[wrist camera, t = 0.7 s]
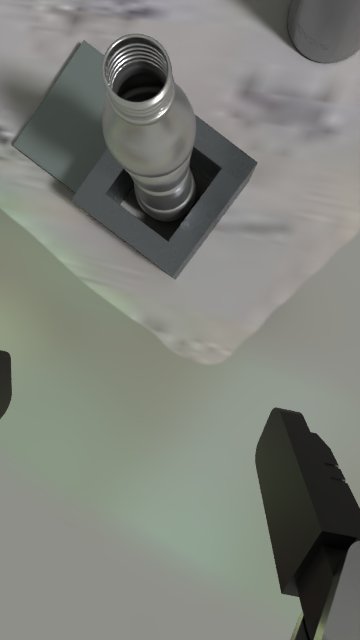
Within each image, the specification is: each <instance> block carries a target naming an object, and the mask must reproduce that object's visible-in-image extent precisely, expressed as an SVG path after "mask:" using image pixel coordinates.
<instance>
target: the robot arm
mask: <svg viewBox="0 0 360 640" xmlns="http://www.w3.org/2000/svg"><path fill="white" fill-rule="evenodd" d="M288 29H289V34H290V37H291V39H292V42H293V43H294V45H295V46H296V48H297V49H298V50H299V51H300V52H301V53H302V54H303V55H304V56H306V57H308V58H309V59H311V60H314V61H317V62H321V63H334V62H339V61H342V60H344V59H347V58H348V57H350V56H352V55H353V54H354V53H355V52H357V51H358V50H359V49H360V0H292V3H291V6H290V10H289V14H288ZM11 395H12V386H11V357H10V354H9V353H8V352H5V351H1V350H0V419H1V417H2V416H3V415H4V414H5V412H6V410H7V408H8V406H9V404H10V401H11ZM255 462H256V469H257V474H258V478H259V484H260V489H261V494H262V499H263V504H264V509H265V514H266V519H267V524H268V529H269V533H270V539H271V543H272V548H273V554H274V559H275V564H276V569H277V574H278V578H279V584H280V589H281V593H282V594H287V595H292V596H297V597H299V598H300V602H301V606H302V610H303V612H302V613H301V615H300V617H299V618H298V621H297V623H296V626H295V629H294V631H293V634H292V637H291V639H290V640H360V508H359V506H358V504H357V502H356V500H355V498H354V496H353V494H352V492H351V490H350V488H349V486H348V484H347V483H345V478H344V476H343V474H342V472H341V470H340V469H338V464H337V461H336V459H335V457H334V455H333V453H332V451H331V449H330V448H329V447H328V446H327V445H326V444H325V442H324V441H323V440H322V439H321V438H320V437H319V436H318V435H317V434H316V433H311V432H310V430H309V428H308V426H307V423H306V421H305V419H304V417H303V415H302V414H301V413H300V412H295V411H291V410H286V409H281V408H274V409H273V410H272V411H271V413H270V416H269V418H268V420H267V423H266V425H265V427H264V430H263V432H262V435H261V437H260V439H259V442H258V444H257V449H256V455H255Z"/></svg>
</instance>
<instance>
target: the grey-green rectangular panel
mask: <svg viewBox="0 0 360 640" xmlns="http://www.w3.org/2000/svg"><path fill="white" fill-rule="evenodd" d="M103 58H104V55H103V54H102V53H100V52H99V51H98V50H96V49H95V48H94V47H92V46H91V45H90V44H88V43H87V42H86V41H85V40H84V41H83V42H82V44H81V45H80V47H79V48H78V50H77V51H76V53H75V54H74V56H73V57H72V59H71V60H70V62H69V63H68V65H67V66H66V68H65V69H64V71H63V72H62V74H61V75H60V76H59V78H58V79H57V81H56V82H55V84H54V85H53V87H52V88H51V90H50V91H49V93H48V94H47V96H46V97H45V99H44V100H43V102H42V103H41V105H40V106H39V108H38V109H37V111H36V112H35V114H34V115H33V117H32V118H31V120H30V121H29V123H28V124H27V126H26V127H25V129H24V130H23V132H22V133H21V135H20V136H19V138H18V139H17V140H16V142H15V143H14V145H13V146H15V147H16V148H17V149H18V150H19V151H21V152H22V153H23V154H25V155H26V156H27V157H29V158H30V159H31V160H33V161H34V162H35V163H36V164H38V165H39V166H40V167H42V168H43V169H44V170H46V171H47V172H48V173H50V174H51V175H52V176H54V177H55V178H56V179H58V180H59V181H60V182H62V183H63V184H64V185H65V186H67V187H68V188H69V189H71V190H72V191H73V192H75V193H76V192H77V191H78V189H79V188H80V186H81V185H82V184H83V182H84V181H85V179H86V178H87V176H88V175H89V174H90V172H91V171H92V169H93V168H94V166H95V165H96V164H97V162H98V161H99V159H100V158H101V156H102V155H103V153H104V152H105V151H106V149H107V148H108V147H107V145H106V142H105V139H104V136H103V127H102V114H103V107H104V104H105V100H106V98H107V92H106V87H105V85H104V81H103V76H102V62H103Z"/></svg>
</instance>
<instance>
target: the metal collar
mask: <svg viewBox="0 0 360 640" xmlns="http://www.w3.org/2000/svg"><path fill="white" fill-rule="evenodd" d="M195 118H196V135H195V143H194V146H193V150H192V153H191V157H190V163H189V165H190V166H191V167H193V168H194V169H195V170H197V171H198V172H199V173H200V174H202V175H203V176H204V177H206V178H207V179H208V180H210V181H211V182H212V183H211V184H210V185H209V187H208V188H207V189H206V191H205V192H204V194H203V195H202V196H201V198H200V199H199V200H198V202H197V203H196V204H195V206H194V207H193V208H192V210H191V211H190V213H189V214H188V215H187V217H186V218H185V219H184V221H183V222H182V223H181V225H180V226H179V227H178V229H177V230H176V232H175V233H174V234H173V236H172V237H171V238H170V240H169V241H167V240H165V239H164V238H163V237H161V236H160V235H159V234H157V233H156V232H155V231H153V230H152V229H151V228H149V227H148V226H147V225H146V224H144V223H143V222H142V221H140V220H139V219H138V218H136V217H135V216H134V215H132V214H131V213H130V212H128V211H127V210H126V209H124V208H123V207H122V206H121V205H120V204H121V203H122V201H123V200H124V198H125V197H126V196H127V194H128V193H129V191H130V190H131V189H132V187H133V186H134V181H133V179H132V178H131V176H130V174H129V173H128V172H127V171H126V170H125V169H124V168H123V167H122V166H121V165H120V164H119V163H118V161H117V160H116V159H115V158H114V156H113V155H112V154H111V152H110V150H109V149H108V148H107V149H106V151H105V152H104V153H103V155H102V156H101V158H100V159H99V161H98V162H97V164H96V165H95V166H94V168H93V169H92V171H91V172H90V174H89V175H88V176H87V178H86V179H85V181H84V182H83V184H82V185H81V186H80V188H79V189H78V191H77V192H76V194H75V195H74V196H73V198H72V200H73V201H74V202H75V203H76V204H78V205H79V206H80V207H81V208H82V209H84V210H85V211H86V212H87V213H88V214H90V215H91V216H92V217H94V218H95V219H96V220H98V221H99V222H100V223H102V224H103V225H104V226H106V227H107V228H108V229H109V230H111V231H112V232H113V233H115V234H116V235H117V236H119V237H120V238H121V239H123V240H124V241H125V242H127V243H128V244H129V245H131V246H132V247H133V248H135V249H136V250H137V251H139V252H140V253H141V254H142V255H144V256H145V257H146V258H148V259H149V260H150V261H152V262H153V263H154V264H156V265H157V266H158V267H160V268H161V269H162V270H164V271H165V272H166V273H168V274H169V275H170V276H171V277H173V278H174V279H176V278H177V277H178V275H179V274H180V273H181V271H182V270H183V269H184V267H185V266H186V265H187V263H188V262H189V261H190V259H191V258H192V257H193V255H194V254H195V253H196V251H197V250H198V249H199V247H200V246H201V245H202V243H203V242H204V241H205V239H206V238H207V237H208V235H209V234H210V233H211V231H212V230H213V229H214V227H215V226H216V225H217V223H218V222H219V220H220V219H221V218H222V216H223V215H224V214H225V212H226V211H227V210H228V208H229V207H230V206H231V204H232V203H233V202H234V200H235V199H236V198H237V196H238V195H239V194H240V192H241V191H242V190H243V188H244V187H245V186H246V184H247V183H248V182H249V179H250V177H251V175H252V173H253V171H254V169H255V167H256V165H257V162H256V161H255V160H254V159H252V158H251V157H250V156H248V155H247V154H246V153H244V152H243V151H242V150H240V149H239V148H238V147H237V146H235V145H234V144H233V143H231V142H230V141H229V140H227V139H226V138H225V137H223V136H222V135H221V134H220V133H218V132H217V131H216V130H214V129H213V128H212V127H210V126H209V125H208V124H206V123H205V122H204V121H203V120H201V119H200V118H199V117H197V116H196V115H195Z"/></svg>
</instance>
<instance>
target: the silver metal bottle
mask: <svg viewBox="0 0 360 640" xmlns="http://www.w3.org/2000/svg"><path fill="white" fill-rule="evenodd" d="M102 76H103V81H104V85H105V87H106V92H107V98H106V100H105V104H104V107H103V114H102V127H103V136H104V139H105V142H106V145H107V147H108V149H109V150H110V152H111V154H112V155H113V156H114V158H115V159H116V160H117V161H118V163H119V164H120V165H121V166H122V167H123V168H124V169H125V170H126V171H127V172H128V173H129V174H130V176H131V178H132V179H133V181H134V190H135V195H136V199H137V202H138V203H139V205H140V207H141V208H142V209H143V211H144V212H146V213H147V214H148V215H150V216H151V217H153V218H155V219H157V220H160V221H166V222H167V221H174V220H177V219H179V218H181V217H183V216H184V215H185V214H186V213H187V212H188V211H189V210H190V208H191V206H192V205H193V203H194V200H195V197H196V184H195V181H194V177H193V174H192V172H191V171H190V167H189V163H190V157H191V153H192V150H193V146H194V143H195V135H196V118H195V114H194V111H193V108H192V106H191V104H190V102H189V100H188V98H187V96H186V94H185V93H184V92H183V90H182V89H181V88H180V87H179V86H178V85H177V84H176V83H175V82H174V79H173V75H172V67H171V63H170V59H169V56H168V54H167V52H166V50H165V49H164V48H163V46H162V45H161V44H160V43H159V42H158V41H156V40H155V39H153V38H151V37H150V36H146V35H143V34H129V35H126V36H123V37H121V38H119V39H117V40H116V41H115V42H113V43H112V44H111V45H110V47H109V48H108V49H107V51H106V53H105V55H104V58H103V62H102Z"/></svg>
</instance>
